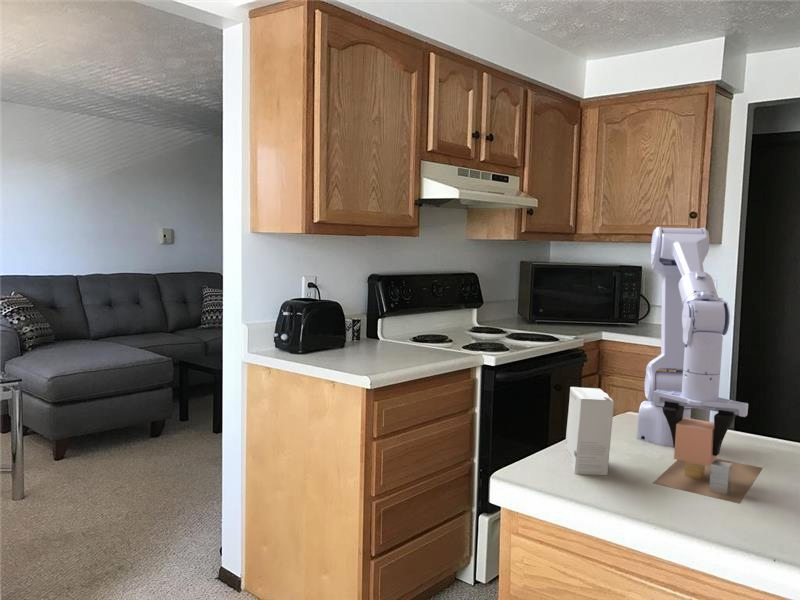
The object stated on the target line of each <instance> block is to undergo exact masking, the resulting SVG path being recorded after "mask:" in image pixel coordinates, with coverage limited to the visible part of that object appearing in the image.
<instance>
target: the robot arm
mask: <svg viewBox="0 0 800 600" xmlns="http://www.w3.org/2000/svg"><path fill="white" fill-rule="evenodd" d="M651 236H652V237H651V245H650V248H651V249H650V251H651V252H650V253H651V254H650V264H651V266H652V267H651V269H652V271H655V272H656V273H658V274H659V277H660V282H661V283H660V284H661V319H660V320H661V321H660V322H661V325H660V326H661V329H660V330H661V331H660V332H661V333H660V335H661V337H660V338H661V339H660V343H661V345H660V349H661V350H660V354H659V355H658V356H657V357H655V358H653V359H652V360H651V361H649V362H648V363H647V365H646V369H645V370H646V371H645V378H644V395H645V398H646V399H647V400H643V401H642V402H641V403H640V405H639V409H638V414H637V425H636V426H637V429H636V430H637V431H636V440H639V441H645V442H649V443H654V444H658V445H661V446H666V447H672V448H674V449H675V436H676V424H677V423H679V422H680V421H681V420H683V419H684V418H690V419H691V413H692V411H691V410H692V409H700V410H704V411H705V410H706V411H711V412H717V413H715V414H714V416H713V423H714V442H713V455H714V456H717V457H718V455H719V454H720V451H721V449H722V448H721V447H722V444H723V441H724V439H725V436H726V434H727V432H728V430H729V428H730V426H731V424H732V423H733V421H734V420H735V418H736V416H739V417H742V418H746V417H747V416H748V412H749V403H748V402H741V401H738V400H734V399H733V400H732V399H728V398H723V397H720V396H719V394H720V393H719V392H720V382H721V381H720V379H721V367H722V366H721V365H722V352H723V341H724V336H725V335H727V334H728V331H729V327H730V321H731V320H730V319H731V318H730V317H731V313H730V306H729V304H728V301H726V300H724V298H722V297H719V296H718V292H717V288H716V285H715V282H714V279H713V277H712V275H711V274H709V273H708V272H705V270H704V264H703V263H704V261H705V260H706V257H707V256H708V253H709V249H710V234H709V231H708V230H707V229H706V227H701V228H687V227H685V228H684V227H661V226H657V227H656V228H655V229H653V232H652V235H651ZM660 370H661V371H660ZM663 370H667V371H663ZM681 371H682V372H681Z"/></svg>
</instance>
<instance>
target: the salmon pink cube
mask: <svg viewBox="0 0 800 600" xmlns="http://www.w3.org/2000/svg"><path fill="white" fill-rule="evenodd" d="M713 442H714V421H713V422H712V421H707V420H700V419H696V418H695V419H694V418H691V417H690V418H684V419H683V420H681V421H680V422H679V423H677V424H676V436H675V448H674V450H673V451H674V452H673V453H674V454H673V460H676V461H677V460H682V461H687V462H692V463H696V464H701V465H706V466H710V465H711V464H712V462H713V461H714V460H716V459H718V455H717V456H714V455H713Z"/></svg>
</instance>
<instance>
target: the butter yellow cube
mask: <svg viewBox="0 0 800 600" xmlns="http://www.w3.org/2000/svg"><path fill="white" fill-rule="evenodd" d="M704 472H705V465H701V464H696V463H692V462H687V461H685V474H684V476H688V477H692V478H697V479H701V478H702V477H703V476H704Z"/></svg>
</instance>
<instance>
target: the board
mask: <svg viewBox="0 0 800 600" xmlns="http://www.w3.org/2000/svg"><path fill="white" fill-rule="evenodd" d="M716 460H717V461H722V462H727V463H732V474H731V487H730V492H729V493H728V495H722V494H718V493H714V492H709V486H710V472H711V465H710V466H706V465H705V472H704V476H703V477H702V478H701V479H697V478H692V477H688V476H684V474H685V461H682V460H677V459H676V460H675V461H674V462H673V463H672V464H671V465H670V466H669V467H668V468H667V469H666V470H665V471H664V472H663V473H661V474H660V475H659V476H657V478H656V479H654V481H653V482H652V484H655V485H657V486H658V485H659V486H663V487H667V488H671V489H675V490H679V491H683V492H688V493H693V494H697V495H701V496H706V497H709V498H714V499H719V500H723V501H726V502H731V503H734V504H740V503H741V502H742V500H743V499H744V497H745V496H746V494H747V493H748V491H749V490H750V488H751V486H752V485H753V484H754V482H755V481H756V479H757V477H758V476H759V474H760V473H761V471H762V469H763V467H761V466H755V465H751V464H750V465H749V464H745V463H741V462H740V463H739V462H735V461H730V460H726V459H719V458H717V459H716Z"/></svg>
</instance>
